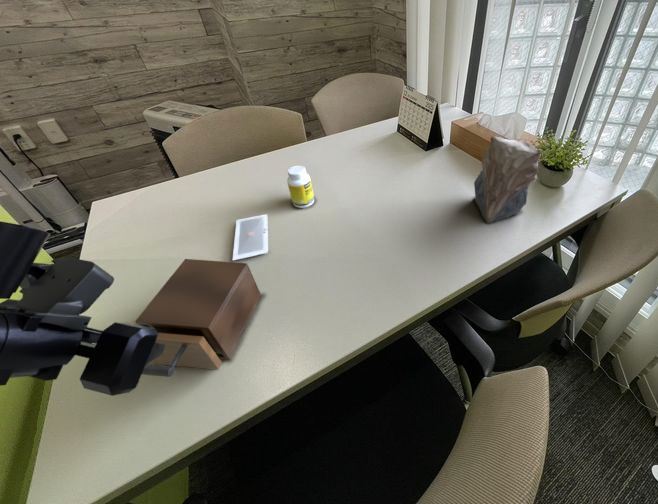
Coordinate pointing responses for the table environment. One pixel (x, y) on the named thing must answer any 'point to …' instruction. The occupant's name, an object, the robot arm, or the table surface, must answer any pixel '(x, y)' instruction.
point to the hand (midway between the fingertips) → (132, 342)
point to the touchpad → (251, 237)
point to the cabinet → (206, 301)
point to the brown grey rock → (505, 178)
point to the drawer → (183, 351)
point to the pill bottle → (300, 187)
